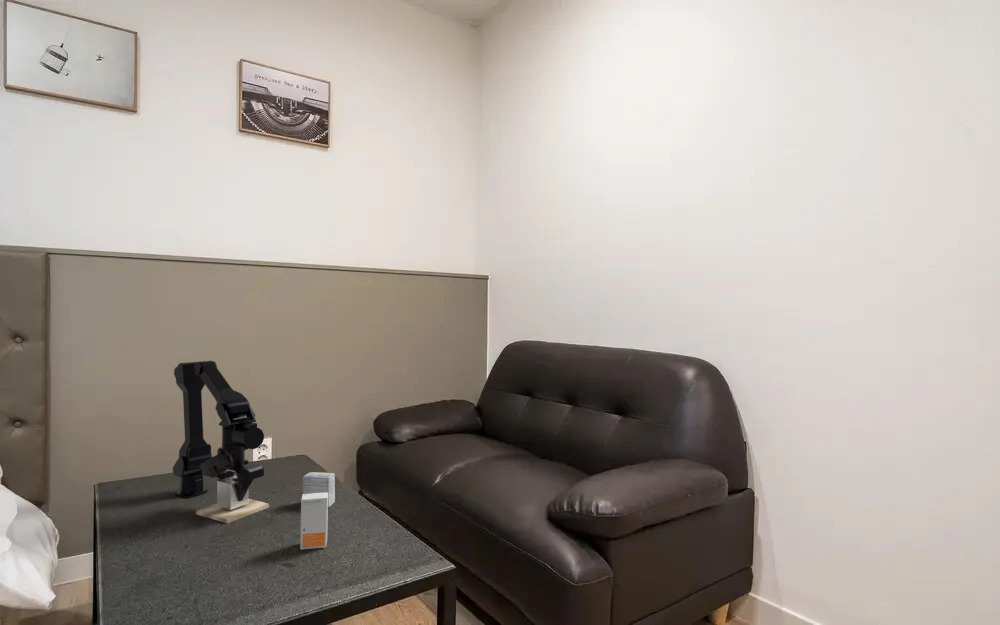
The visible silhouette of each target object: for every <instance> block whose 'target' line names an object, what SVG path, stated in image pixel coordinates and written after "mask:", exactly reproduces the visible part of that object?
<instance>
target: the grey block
mask: <svg viewBox="0 0 1000 625" xmlns="http://www.w3.org/2000/svg"><path fill="white" fill-rule="evenodd" d="M235 478H237V474H234V475H233V476H232V477H229V478H225V479H222V480H219V481H218V480H217V481H216V482H217V485H216V486H217V487H216V489H217V492H216V503H217V506H218V507H222V508H225V509H229V510H232V509H235V508H237V507H240V506H243V505H246V504H248V503H249V499H250V498H249V496H250V493H249V491H250V487H249V488H248V490H247V492H246V494H245V496H244V498H243V500H242V501H240V502H239V501H238V497H237V485H236V483H235V482H234V481H233V480H232V479H235Z"/></svg>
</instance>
